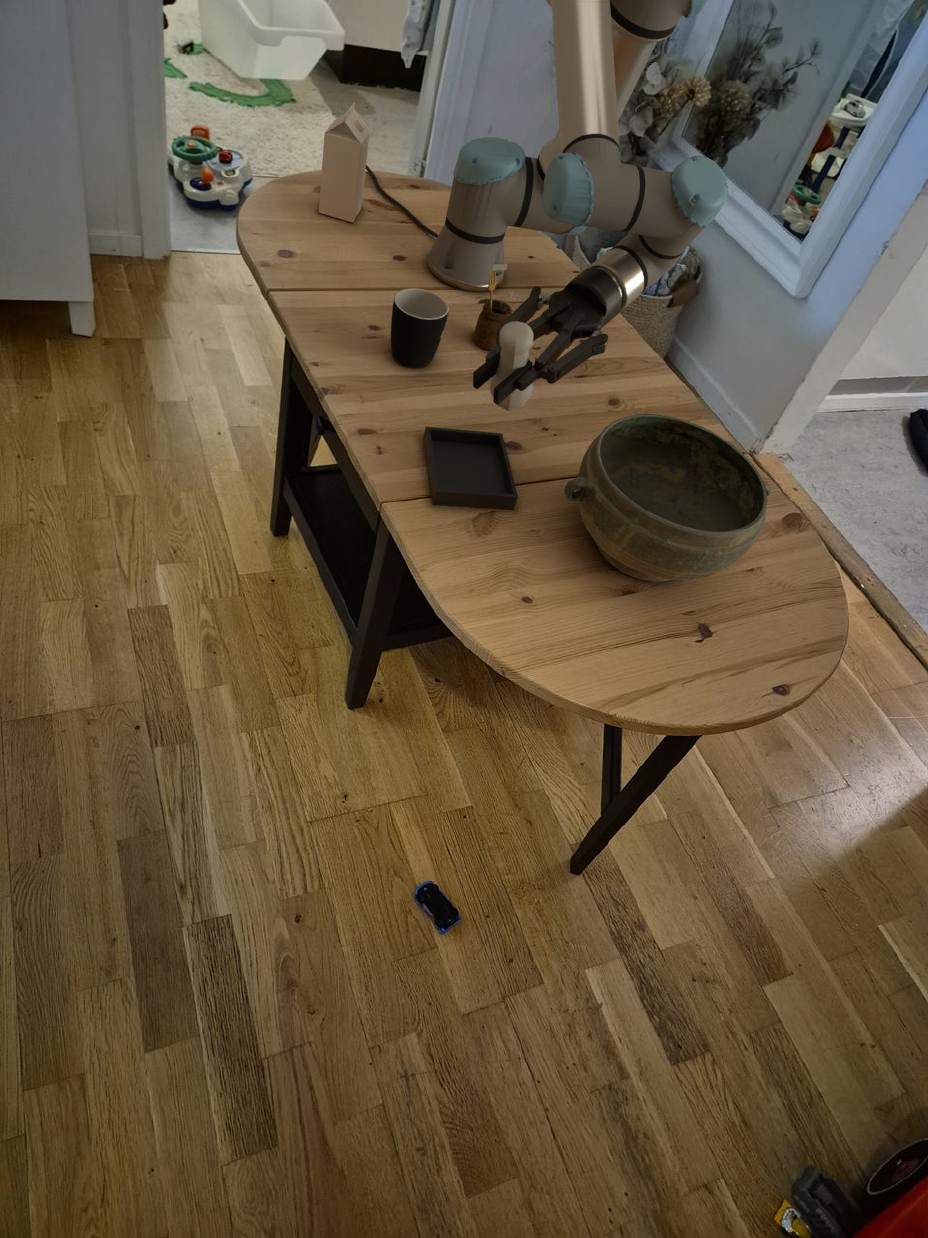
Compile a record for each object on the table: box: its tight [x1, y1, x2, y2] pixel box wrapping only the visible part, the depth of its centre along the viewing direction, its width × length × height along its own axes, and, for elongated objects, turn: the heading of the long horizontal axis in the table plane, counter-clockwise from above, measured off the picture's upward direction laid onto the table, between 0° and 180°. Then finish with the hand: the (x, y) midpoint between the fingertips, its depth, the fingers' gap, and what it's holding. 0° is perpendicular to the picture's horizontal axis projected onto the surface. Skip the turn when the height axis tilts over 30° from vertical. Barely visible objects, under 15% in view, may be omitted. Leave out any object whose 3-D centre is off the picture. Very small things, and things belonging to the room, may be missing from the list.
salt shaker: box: [489, 321, 534, 412], centre depth 105 cm, size 6×6×13 cm
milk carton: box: [318, 102, 371, 223], centre depth 155 cm, size 7×7×19 cm
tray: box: [422, 426, 519, 511], centre depth 119 cm, size 14×12×3 cm
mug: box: [390, 287, 449, 369], centre depth 133 cm, size 12×9×10 cm
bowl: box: [564, 413, 772, 583], centre depth 113 cm, size 32×26×15 cm
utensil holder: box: [473, 270, 517, 352], centre depth 139 cm, size 6×6×12 cm
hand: (485, 388), depth 103 cm, fingers closed on salt shaker, 3 cm apart
